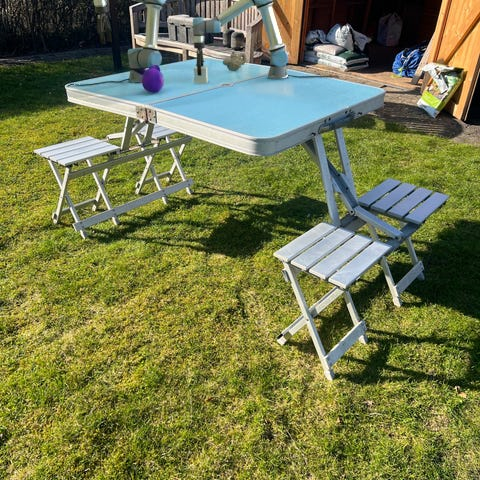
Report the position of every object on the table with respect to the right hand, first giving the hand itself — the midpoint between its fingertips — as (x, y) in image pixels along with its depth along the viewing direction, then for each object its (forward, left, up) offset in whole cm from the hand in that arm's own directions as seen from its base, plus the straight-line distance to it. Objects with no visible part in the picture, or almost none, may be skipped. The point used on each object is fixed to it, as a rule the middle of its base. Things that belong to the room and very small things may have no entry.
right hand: (200, 73), depth 327 cm
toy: (+37, +18, -6) cm, 42 cm away
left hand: (+62, +13, +25) cm, 69 cm away
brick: (0, 0, -6) cm, 6 cm away
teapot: (-34, -39, -6) cm, 52 cm away
